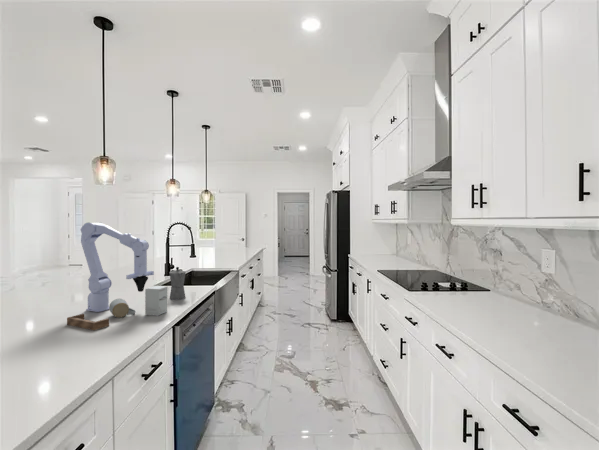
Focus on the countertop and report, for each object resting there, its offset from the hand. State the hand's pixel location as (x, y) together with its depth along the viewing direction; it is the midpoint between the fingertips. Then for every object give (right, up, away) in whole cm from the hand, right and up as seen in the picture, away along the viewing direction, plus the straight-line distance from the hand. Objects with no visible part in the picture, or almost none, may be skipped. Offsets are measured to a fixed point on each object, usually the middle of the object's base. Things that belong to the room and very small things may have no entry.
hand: (140, 291), depth 165 cm
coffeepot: (+8, -9, +27) cm, 30 cm away
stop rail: (-11, -10, -24) cm, 28 cm away
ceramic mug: (-4, -10, -9) cm, 14 cm away
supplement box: (+11, -10, -6) cm, 15 cm away
